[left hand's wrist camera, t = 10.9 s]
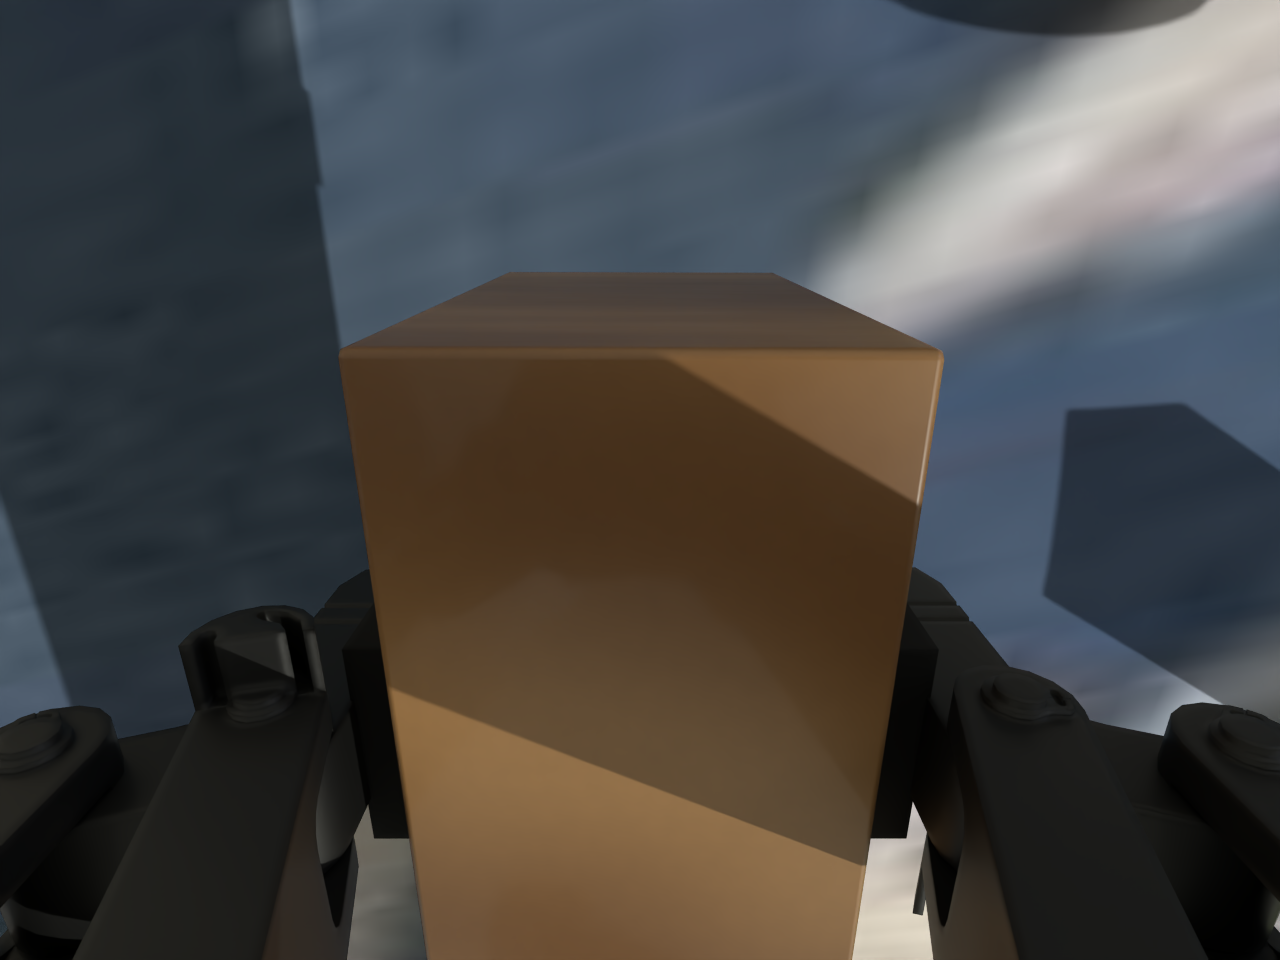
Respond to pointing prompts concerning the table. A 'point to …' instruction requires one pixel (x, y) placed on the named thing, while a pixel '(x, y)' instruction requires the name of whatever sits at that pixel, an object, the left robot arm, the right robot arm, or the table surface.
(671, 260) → the table surface
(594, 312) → the post
